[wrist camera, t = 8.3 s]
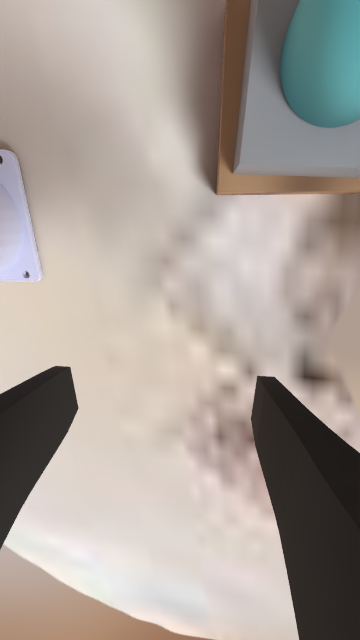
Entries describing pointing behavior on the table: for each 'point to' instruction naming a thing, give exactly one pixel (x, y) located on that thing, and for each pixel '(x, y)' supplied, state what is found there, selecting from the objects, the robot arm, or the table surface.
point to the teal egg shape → (323, 62)
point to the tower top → (283, 111)
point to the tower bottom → (229, 114)
